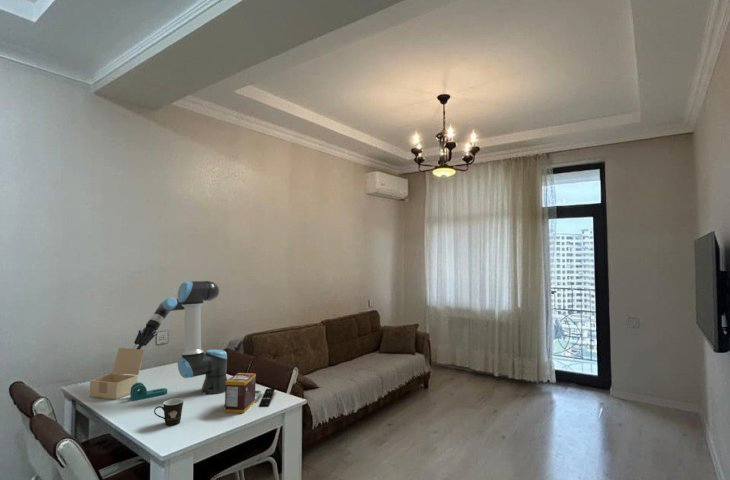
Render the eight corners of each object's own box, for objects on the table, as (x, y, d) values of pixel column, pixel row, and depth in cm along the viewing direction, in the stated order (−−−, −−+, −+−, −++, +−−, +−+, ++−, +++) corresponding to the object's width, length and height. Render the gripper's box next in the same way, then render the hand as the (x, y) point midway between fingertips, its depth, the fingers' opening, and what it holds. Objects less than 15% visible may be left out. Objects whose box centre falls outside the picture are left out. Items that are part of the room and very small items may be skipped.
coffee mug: (185, 419, 186) (186, 398, 187) (177, 427, 177) (178, 405, 178) (161, 419, 186) (162, 398, 186) (152, 427, 177) (153, 405, 178)
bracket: (132, 401, 209) (132, 386, 209) (130, 398, 214) (130, 383, 214) (168, 394, 220) (169, 380, 221) (165, 391, 225) (166, 377, 226)
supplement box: (255, 402, 210) (256, 373, 211) (243, 413, 194) (244, 382, 195) (237, 401, 211) (238, 372, 212) (224, 412, 196) (225, 381, 196)
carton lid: (143, 349, 229) (144, 349, 230) (118, 347, 233) (119, 347, 234) (137, 375, 225) (138, 375, 225) (112, 372, 229) (113, 372, 229)
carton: (115, 400, 210) (116, 383, 211) (89, 396, 214) (89, 380, 215) (136, 391, 224) (137, 375, 224) (111, 388, 228) (112, 373, 228)
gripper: (166, 326, 250) (144, 358, 233) (149, 325, 253) (127, 357, 236) (160, 319, 245) (138, 352, 228) (143, 318, 248) (120, 350, 231)
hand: (132, 354), depth 232 cm, fingers closed
